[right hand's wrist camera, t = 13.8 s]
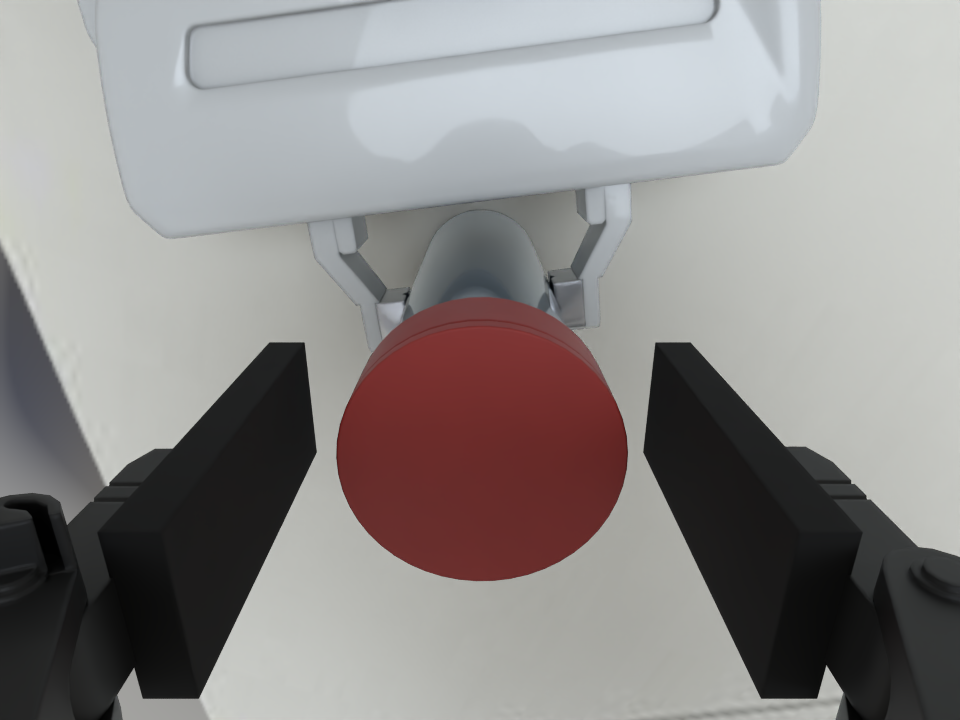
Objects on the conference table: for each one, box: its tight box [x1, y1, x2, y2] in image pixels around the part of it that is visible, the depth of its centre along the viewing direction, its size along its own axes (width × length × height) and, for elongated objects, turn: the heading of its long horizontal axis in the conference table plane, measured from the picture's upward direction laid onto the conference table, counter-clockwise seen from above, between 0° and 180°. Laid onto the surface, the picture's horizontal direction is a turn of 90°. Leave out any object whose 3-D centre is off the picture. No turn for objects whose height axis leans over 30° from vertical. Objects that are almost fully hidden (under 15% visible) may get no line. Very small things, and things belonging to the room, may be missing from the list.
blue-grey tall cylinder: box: [396, 210, 567, 327], centre depth 20 cm, size 5×5×16 cm
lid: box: [336, 297, 628, 581], centre depth 13 cm, size 6×6×2 cm
